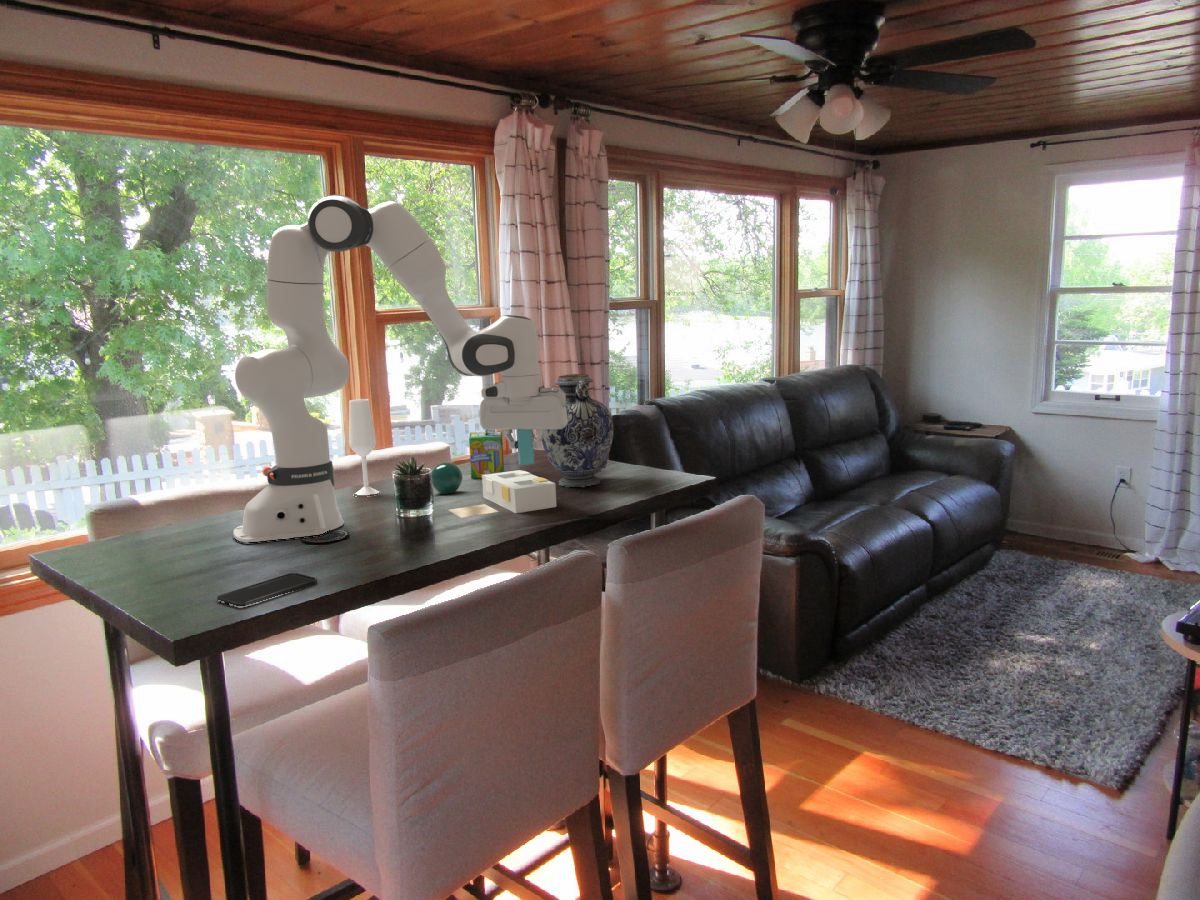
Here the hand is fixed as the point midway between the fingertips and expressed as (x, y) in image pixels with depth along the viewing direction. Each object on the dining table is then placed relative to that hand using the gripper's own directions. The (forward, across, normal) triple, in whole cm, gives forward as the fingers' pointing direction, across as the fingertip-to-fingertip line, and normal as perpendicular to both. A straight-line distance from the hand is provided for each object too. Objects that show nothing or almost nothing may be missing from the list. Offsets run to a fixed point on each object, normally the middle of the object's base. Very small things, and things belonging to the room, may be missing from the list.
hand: (525, 448), depth 197 cm
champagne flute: (+13, +48, -8) cm, 51 cm away
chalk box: (+14, +27, -35) cm, 46 cm away
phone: (+14, +21, +63) cm, 68 cm away
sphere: (+14, +27, -12) cm, 32 cm away
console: (+14, +4, -4) cm, 15 cm away
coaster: (+14, +11, +6) cm, 19 cm away
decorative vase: (+14, -2, -28) cm, 31 cm away
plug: (+3, 0, 0) cm, 3 cm away
